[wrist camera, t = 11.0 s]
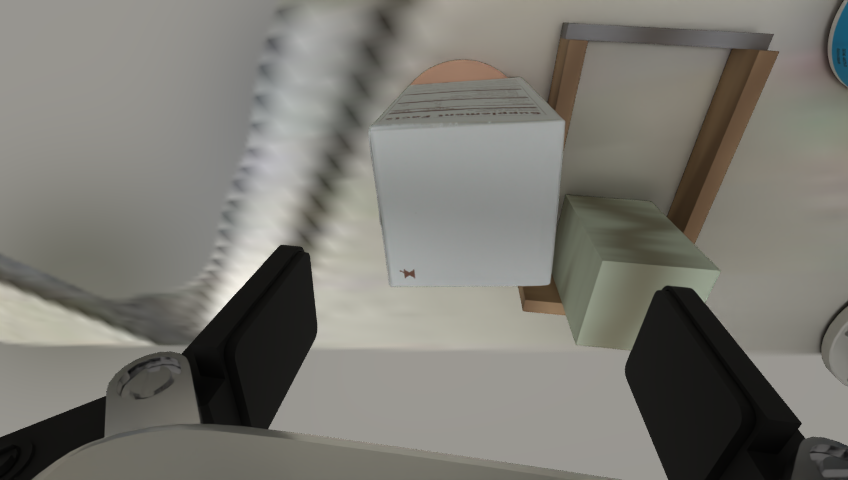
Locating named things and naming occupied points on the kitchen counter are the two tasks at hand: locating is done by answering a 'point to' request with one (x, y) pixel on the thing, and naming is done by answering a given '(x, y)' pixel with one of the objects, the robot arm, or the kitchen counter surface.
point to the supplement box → (468, 184)
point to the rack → (641, 220)
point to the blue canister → (839, 44)
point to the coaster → (458, 72)
